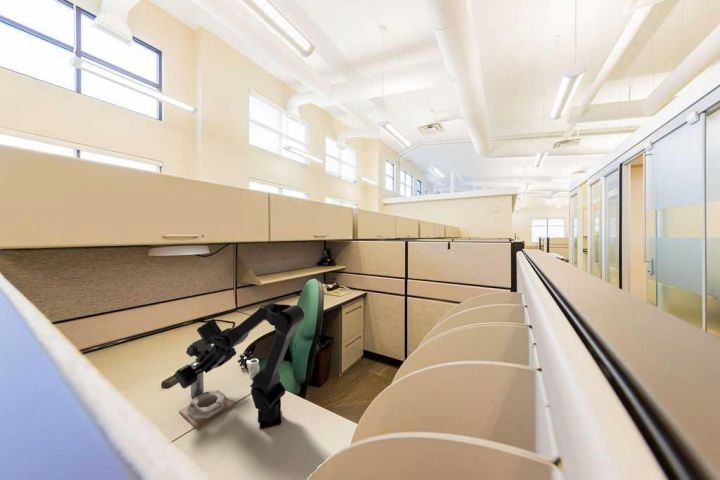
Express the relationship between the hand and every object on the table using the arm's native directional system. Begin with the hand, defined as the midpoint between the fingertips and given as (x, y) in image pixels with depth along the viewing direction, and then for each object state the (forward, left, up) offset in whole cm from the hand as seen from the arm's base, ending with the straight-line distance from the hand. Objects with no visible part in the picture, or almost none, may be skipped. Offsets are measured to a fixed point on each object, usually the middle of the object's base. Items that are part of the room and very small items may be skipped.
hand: (194, 376), depth 93 cm
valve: (-18, -9, -7) cm, 21 cm away
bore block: (-6, +10, -7) cm, 13 cm away
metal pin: (-1, +1, -7) cm, 7 cm away
